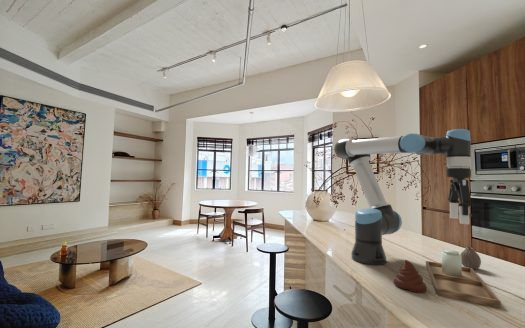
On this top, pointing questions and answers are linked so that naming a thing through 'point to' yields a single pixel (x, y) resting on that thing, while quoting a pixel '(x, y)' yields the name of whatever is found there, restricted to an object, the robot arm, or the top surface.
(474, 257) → the vase
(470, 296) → the divided wooden tray
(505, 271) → the top surface
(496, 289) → the top surface
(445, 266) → the jar
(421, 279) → the poop emoji
